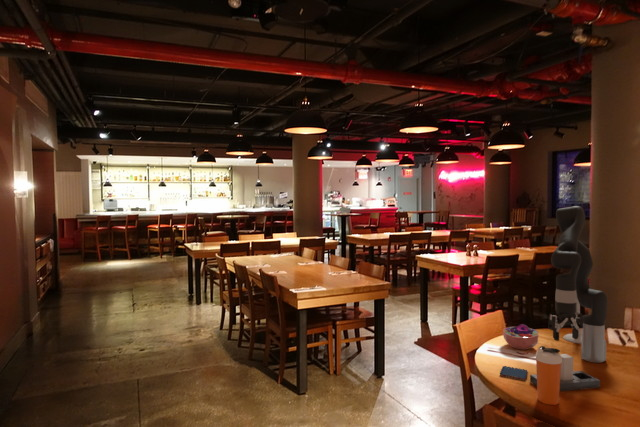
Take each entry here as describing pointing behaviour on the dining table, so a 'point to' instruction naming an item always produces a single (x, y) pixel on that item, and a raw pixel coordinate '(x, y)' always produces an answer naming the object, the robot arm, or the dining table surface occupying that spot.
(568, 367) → the peg
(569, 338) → the candlestick
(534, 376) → the grey slotted frame
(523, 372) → the woven mat
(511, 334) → the cell model
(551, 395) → the shaker bottle
